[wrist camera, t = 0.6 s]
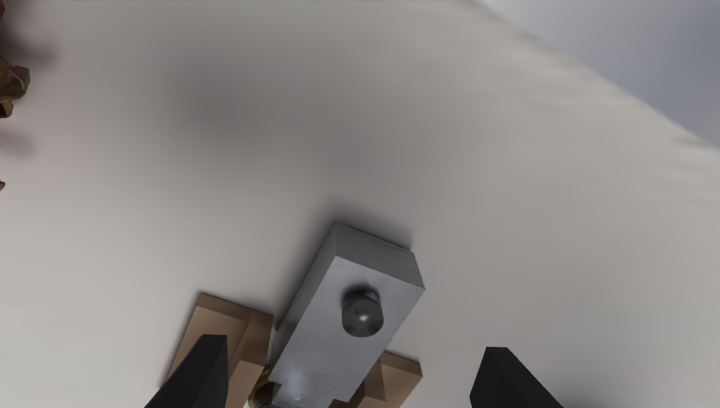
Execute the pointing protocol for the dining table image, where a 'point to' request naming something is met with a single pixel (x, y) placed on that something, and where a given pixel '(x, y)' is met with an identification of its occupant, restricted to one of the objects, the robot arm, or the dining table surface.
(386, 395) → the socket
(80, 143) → the dining table surface
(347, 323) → the key bar
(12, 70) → the dragon fruit
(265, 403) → the brass-collared grey cylinder
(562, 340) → the dining table surface
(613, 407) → the dining table surface
